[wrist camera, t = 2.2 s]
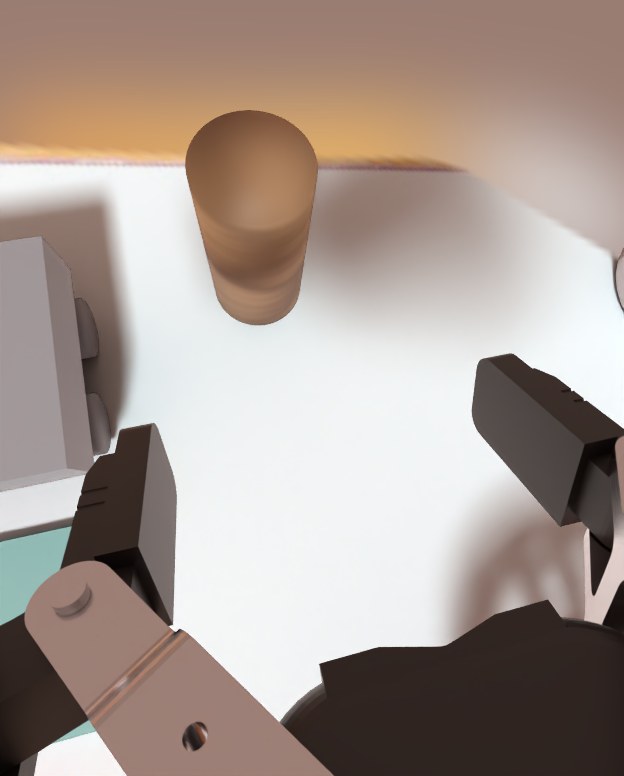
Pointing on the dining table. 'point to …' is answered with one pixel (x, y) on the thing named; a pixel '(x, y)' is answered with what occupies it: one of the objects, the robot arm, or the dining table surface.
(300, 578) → the dining table surface
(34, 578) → the teal pad
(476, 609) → the dining table surface
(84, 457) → the grey roller platform
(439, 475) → the dining table surface
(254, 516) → the dining table surface
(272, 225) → the roller
